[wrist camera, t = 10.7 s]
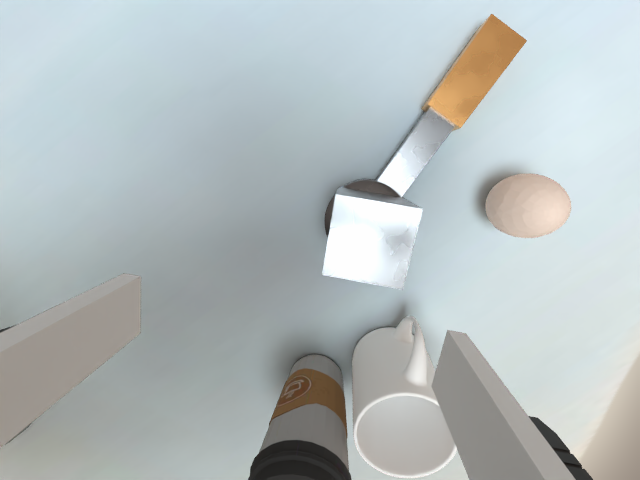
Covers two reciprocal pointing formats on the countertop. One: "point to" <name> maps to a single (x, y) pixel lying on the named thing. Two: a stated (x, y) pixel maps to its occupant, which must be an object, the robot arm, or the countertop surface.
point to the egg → (527, 205)
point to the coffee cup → (307, 427)
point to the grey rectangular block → (371, 237)
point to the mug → (398, 404)
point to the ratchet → (445, 108)
